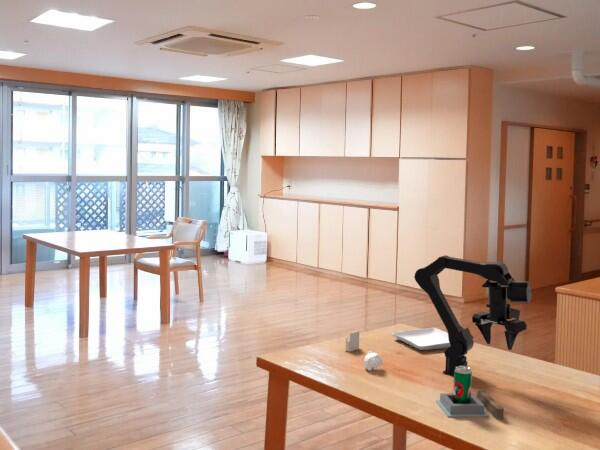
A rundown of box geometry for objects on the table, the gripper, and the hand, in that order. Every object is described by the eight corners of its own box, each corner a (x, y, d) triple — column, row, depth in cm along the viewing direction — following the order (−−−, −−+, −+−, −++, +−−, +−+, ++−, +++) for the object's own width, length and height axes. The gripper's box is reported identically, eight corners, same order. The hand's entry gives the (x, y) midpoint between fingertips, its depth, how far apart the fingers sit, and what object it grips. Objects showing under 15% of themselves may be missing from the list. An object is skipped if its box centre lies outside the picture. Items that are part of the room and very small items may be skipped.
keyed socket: (435, 401, 201) (436, 392, 200) (474, 401, 202) (474, 391, 201) (447, 417, 189) (448, 407, 188) (488, 416, 190) (489, 406, 189)
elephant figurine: (387, 371, 229) (387, 354, 228) (366, 373, 226) (366, 356, 225) (378, 365, 235) (378, 349, 234) (357, 367, 232) (358, 350, 232)
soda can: (470, 411, 192) (472, 371, 191) (452, 409, 193) (454, 369, 192) (470, 405, 197) (471, 365, 196) (452, 403, 198) (454, 364, 197)
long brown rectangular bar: (476, 398, 204) (477, 389, 203) (483, 398, 204) (483, 389, 204) (496, 419, 188) (496, 408, 188) (503, 419, 188) (503, 408, 188)
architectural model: (342, 350, 253) (343, 331, 253) (354, 347, 258) (354, 328, 258) (349, 352, 251) (350, 333, 250) (360, 349, 256) (361, 330, 255)
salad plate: (419, 354, 250) (420, 345, 250) (390, 339, 270) (390, 331, 269) (465, 348, 259) (466, 340, 258) (434, 335, 278) (434, 327, 278)
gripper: (537, 301, 214) (538, 348, 215) (493, 293, 230) (495, 336, 231) (513, 306, 208) (514, 355, 210) (470, 297, 224) (471, 342, 226)
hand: (499, 346), depth 219 cm, fingers open, 9 cm apart
